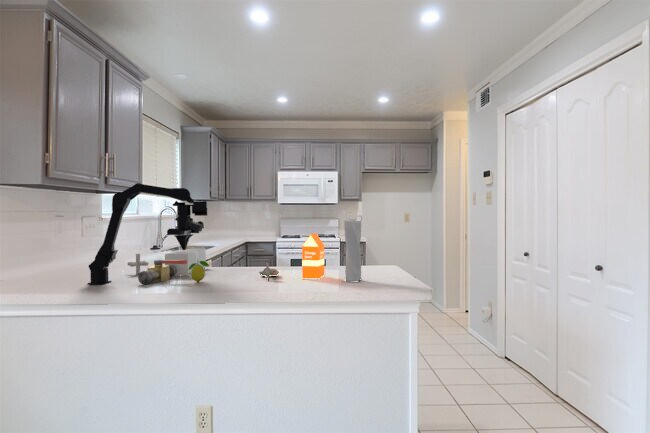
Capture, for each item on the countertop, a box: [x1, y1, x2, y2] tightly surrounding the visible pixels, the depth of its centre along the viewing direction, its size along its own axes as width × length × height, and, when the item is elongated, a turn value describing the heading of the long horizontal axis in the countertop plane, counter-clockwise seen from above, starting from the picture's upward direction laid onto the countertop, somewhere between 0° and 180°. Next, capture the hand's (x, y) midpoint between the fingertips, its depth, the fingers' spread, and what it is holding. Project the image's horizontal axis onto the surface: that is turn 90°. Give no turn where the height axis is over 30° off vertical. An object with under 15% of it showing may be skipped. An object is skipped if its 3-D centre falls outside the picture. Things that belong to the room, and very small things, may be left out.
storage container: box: [164, 248, 207, 277], centre depth 182 cm, size 25×11×11 cm, turn 0°
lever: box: [153, 259, 187, 265], centre depth 157 cm, size 15×4×2 cm, turn 84°
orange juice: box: [301, 233, 325, 278], centre depth 160 cm, size 8×9×20 cm
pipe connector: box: [127, 253, 149, 275], centre depth 177 cm, size 10×10×10 cm
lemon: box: [189, 261, 210, 283], centre depth 152 cm, size 7×6×10 cm
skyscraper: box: [343, 214, 363, 283], centre depth 152 cm, size 8×8×28 cm
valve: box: [258, 262, 280, 279], centre depth 161 cm, size 8×12×10 cm
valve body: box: [137, 264, 177, 286], centre depth 157 cm, size 20×6×7 cm, turn 174°
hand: (184, 250), depth 162 cm, fingers closed
